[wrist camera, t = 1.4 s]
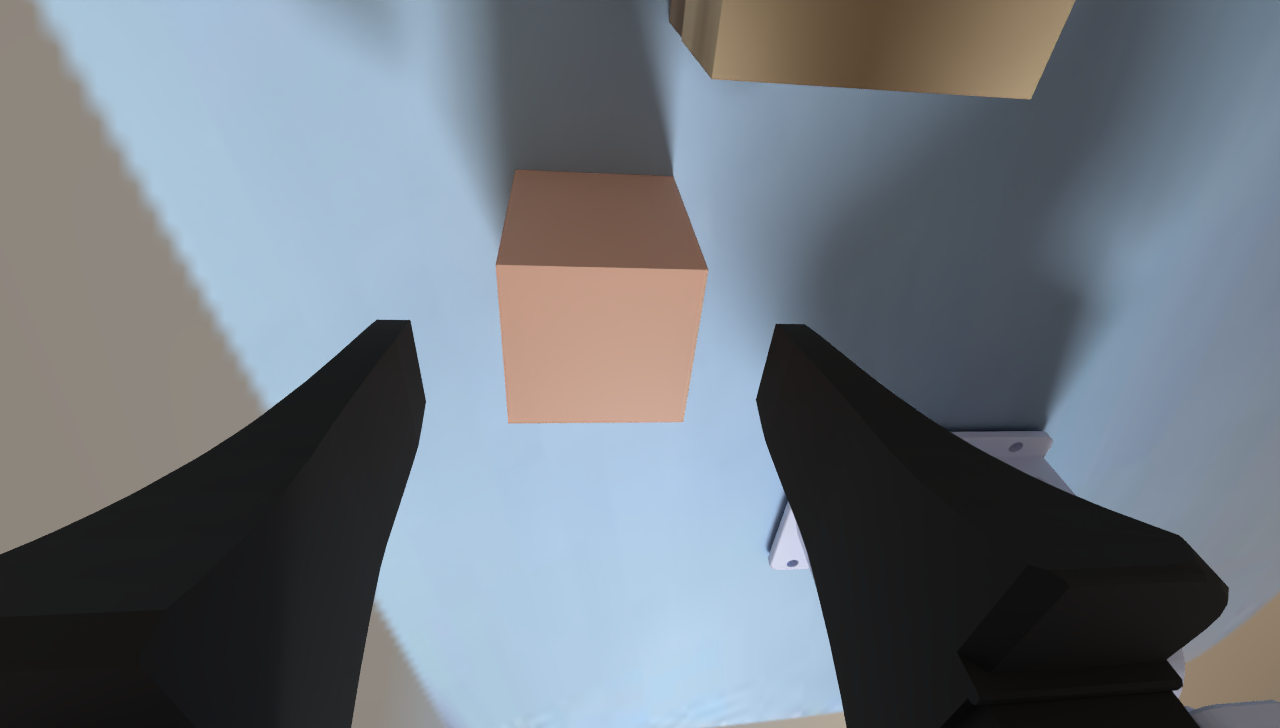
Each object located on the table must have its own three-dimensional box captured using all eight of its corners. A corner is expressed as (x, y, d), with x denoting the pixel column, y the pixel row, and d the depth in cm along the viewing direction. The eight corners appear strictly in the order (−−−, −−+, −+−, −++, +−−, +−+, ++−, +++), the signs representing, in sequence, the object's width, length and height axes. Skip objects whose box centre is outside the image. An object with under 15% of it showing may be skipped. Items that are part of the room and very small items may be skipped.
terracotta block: (673, 175, 15) (708, 269, 11) (658, 306, 18) (683, 421, 14) (515, 168, 15) (495, 265, 11) (522, 305, 17) (508, 423, 13)
